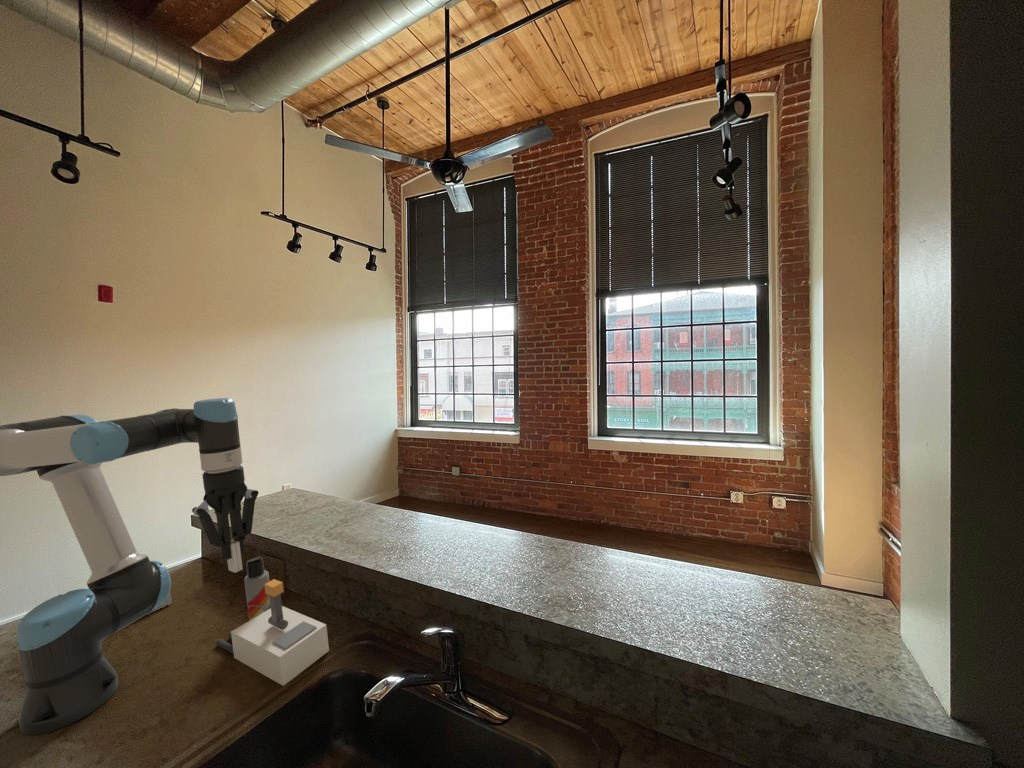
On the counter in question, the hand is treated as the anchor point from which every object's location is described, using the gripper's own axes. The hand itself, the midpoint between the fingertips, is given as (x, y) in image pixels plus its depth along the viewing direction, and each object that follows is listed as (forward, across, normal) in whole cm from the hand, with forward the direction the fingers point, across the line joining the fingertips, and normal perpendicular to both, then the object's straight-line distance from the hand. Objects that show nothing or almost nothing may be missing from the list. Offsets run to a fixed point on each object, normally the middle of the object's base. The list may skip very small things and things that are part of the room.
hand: (235, 569), depth 96 cm
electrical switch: (+27, +2, +56) cm, 62 cm away
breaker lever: (+18, +8, 0) cm, 20 cm away
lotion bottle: (+27, +12, +15) cm, 33 cm away
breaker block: (+26, +8, 0) cm, 28 cm away
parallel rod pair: (+26, +4, +14) cm, 30 cm away
